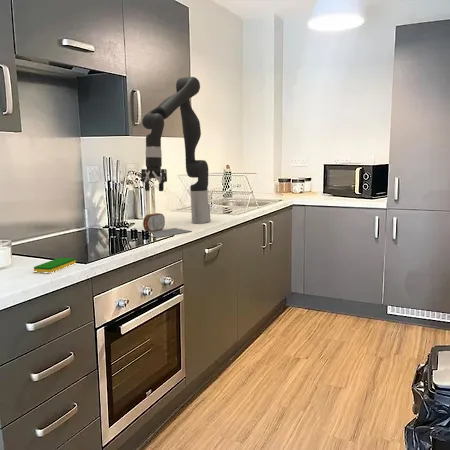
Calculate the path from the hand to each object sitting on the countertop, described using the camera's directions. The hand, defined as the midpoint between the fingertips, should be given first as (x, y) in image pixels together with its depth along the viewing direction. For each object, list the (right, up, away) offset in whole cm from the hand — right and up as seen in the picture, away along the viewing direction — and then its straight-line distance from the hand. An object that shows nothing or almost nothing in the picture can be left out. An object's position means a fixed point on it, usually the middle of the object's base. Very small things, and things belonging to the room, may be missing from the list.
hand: (154, 191), depth 223 cm
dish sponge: (-25, -32, -60) cm, 72 cm away
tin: (0, -19, +7) cm, 20 cm away
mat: (+6, -20, 0) cm, 21 cm away
